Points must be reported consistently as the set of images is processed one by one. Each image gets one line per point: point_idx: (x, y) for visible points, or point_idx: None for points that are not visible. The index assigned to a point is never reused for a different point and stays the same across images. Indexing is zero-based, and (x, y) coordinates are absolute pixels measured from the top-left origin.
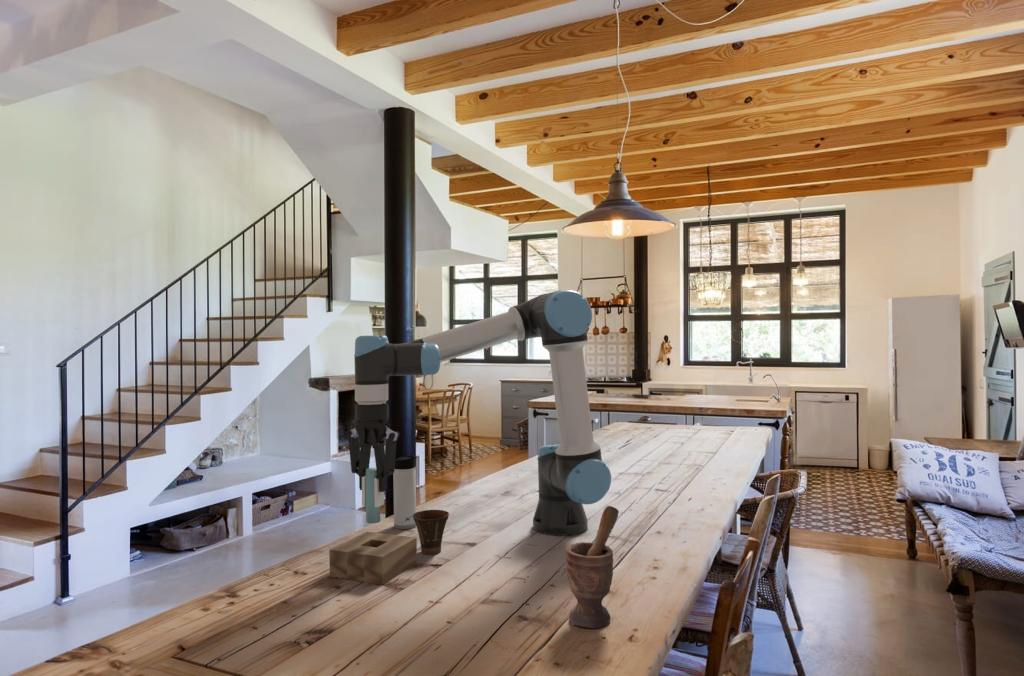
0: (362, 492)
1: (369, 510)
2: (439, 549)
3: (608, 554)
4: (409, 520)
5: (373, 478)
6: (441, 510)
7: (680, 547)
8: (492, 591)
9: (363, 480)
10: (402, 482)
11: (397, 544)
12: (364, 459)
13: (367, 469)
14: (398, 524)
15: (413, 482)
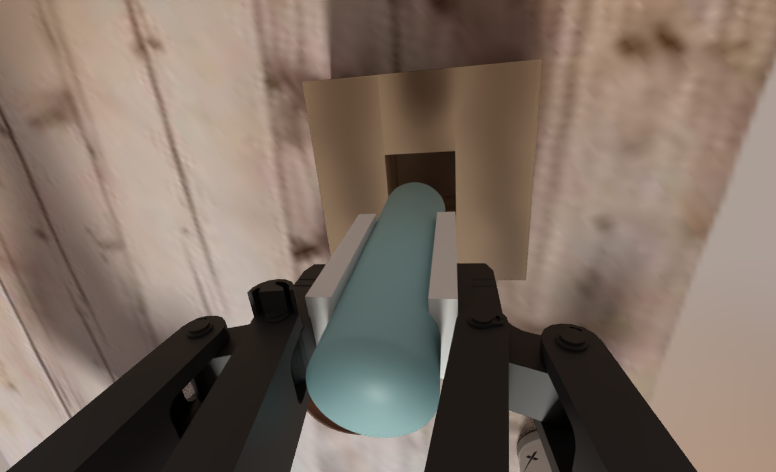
0: (451, 241)
1: (405, 201)
2: None
3: None
4: (527, 455)
5: (343, 300)
6: (349, 432)
7: (24, 438)
8: (97, 160)
9: (439, 283)
10: None
11: (343, 206)
12: (428, 458)
13: (398, 358)
14: None
15: None
